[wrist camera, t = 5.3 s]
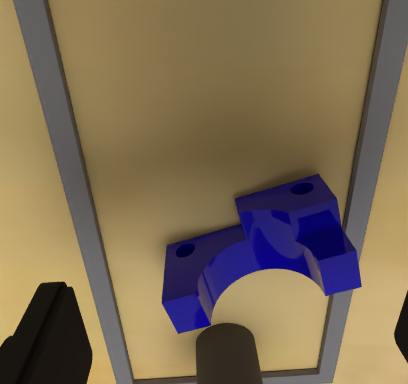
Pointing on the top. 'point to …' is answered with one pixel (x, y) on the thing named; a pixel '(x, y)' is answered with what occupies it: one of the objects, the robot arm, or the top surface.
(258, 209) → the cable holder
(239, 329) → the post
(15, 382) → the robot arm
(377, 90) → the frame
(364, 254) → the top surface
